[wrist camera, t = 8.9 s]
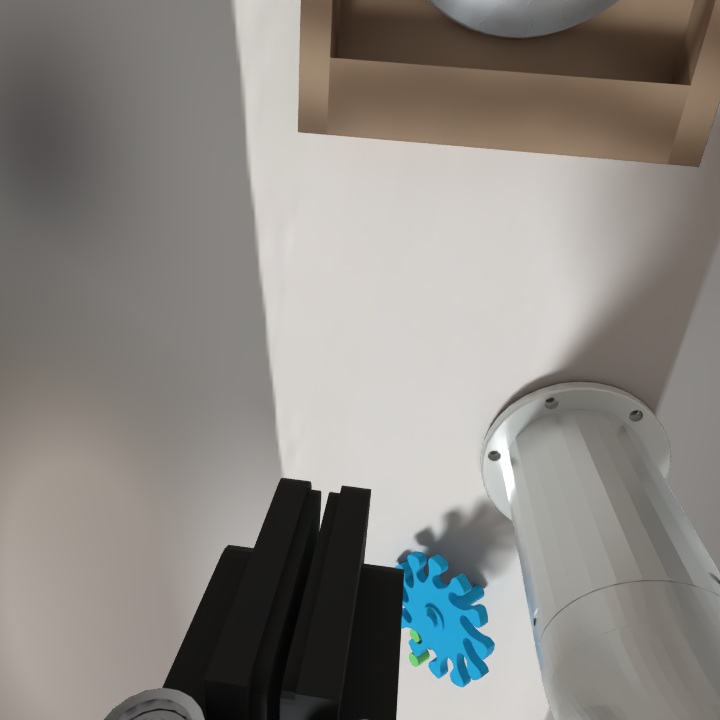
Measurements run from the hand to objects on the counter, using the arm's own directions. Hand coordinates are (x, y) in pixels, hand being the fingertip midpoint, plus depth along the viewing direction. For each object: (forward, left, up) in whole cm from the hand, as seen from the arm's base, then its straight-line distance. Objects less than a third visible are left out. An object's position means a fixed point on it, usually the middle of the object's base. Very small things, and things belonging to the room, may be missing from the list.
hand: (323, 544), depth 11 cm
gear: (-29, +8, -27) cm, 41 cm away
